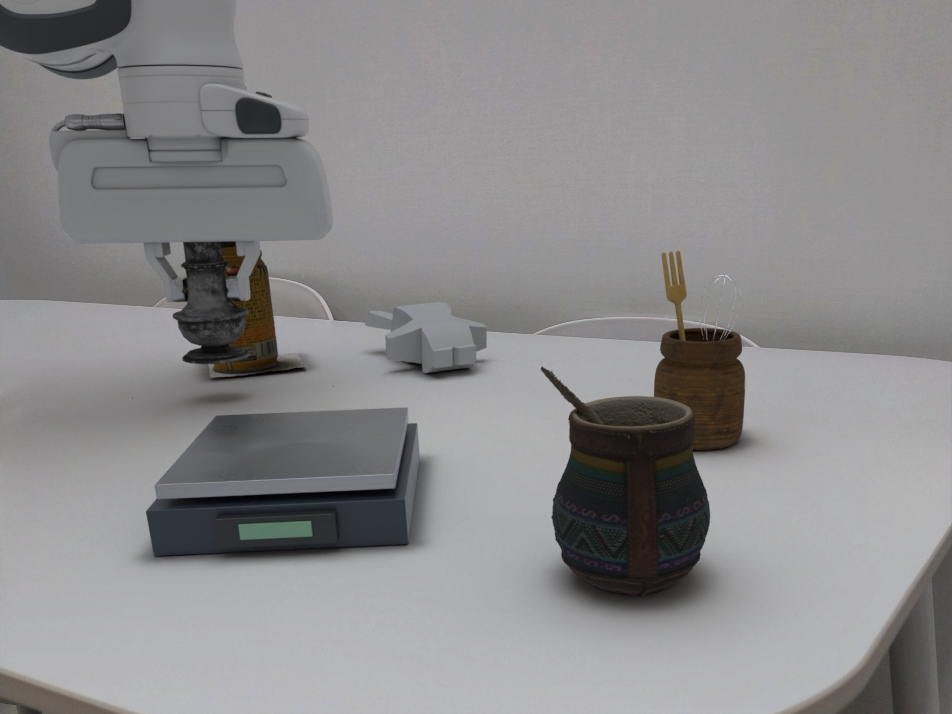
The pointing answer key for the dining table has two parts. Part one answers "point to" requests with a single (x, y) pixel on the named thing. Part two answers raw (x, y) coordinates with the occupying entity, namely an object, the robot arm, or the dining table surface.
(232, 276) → the robot arm
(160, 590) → the dining table surface
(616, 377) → the dining table surface
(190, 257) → the salt shaker
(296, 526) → the scale
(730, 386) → the utensil holder
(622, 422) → the mate gourd
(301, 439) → the scale pan
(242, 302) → the condiment
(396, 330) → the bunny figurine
